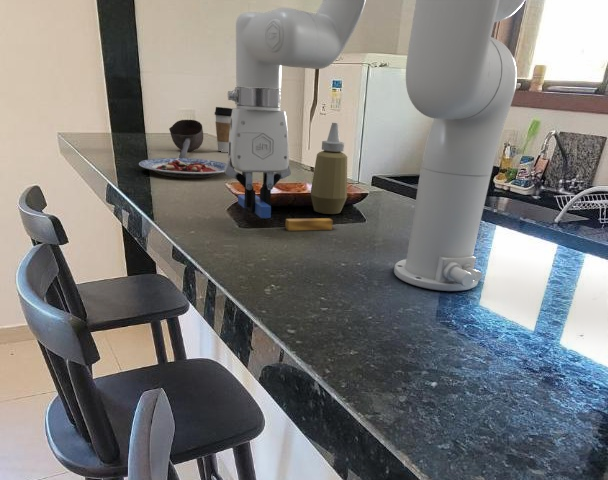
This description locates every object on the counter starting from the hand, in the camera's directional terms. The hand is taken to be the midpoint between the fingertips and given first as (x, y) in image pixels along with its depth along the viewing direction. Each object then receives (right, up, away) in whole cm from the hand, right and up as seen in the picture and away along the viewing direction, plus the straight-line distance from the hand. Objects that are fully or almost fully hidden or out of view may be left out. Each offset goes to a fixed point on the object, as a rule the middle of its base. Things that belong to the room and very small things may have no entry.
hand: (257, 210), depth 98 cm
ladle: (-32, +42, +82) cm, 98 cm away
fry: (+10, -2, +5) cm, 11 cm away
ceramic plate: (-25, +25, +52) cm, 63 cm away
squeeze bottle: (+14, +5, +19) cm, 24 cm away
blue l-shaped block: (0, 0, +1) cm, 1 cm away
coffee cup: (-21, +50, +99) cm, 113 cm away
